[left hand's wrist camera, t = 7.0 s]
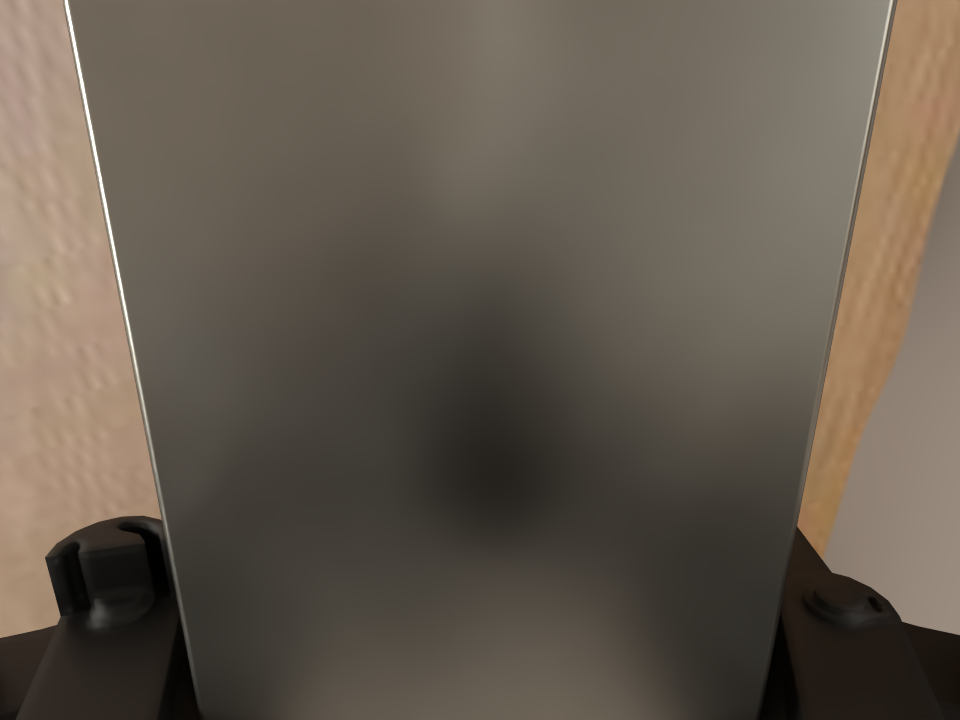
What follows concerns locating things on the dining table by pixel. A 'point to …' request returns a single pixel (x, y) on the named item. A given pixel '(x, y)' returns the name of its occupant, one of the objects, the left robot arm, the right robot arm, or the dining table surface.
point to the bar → (479, 336)
